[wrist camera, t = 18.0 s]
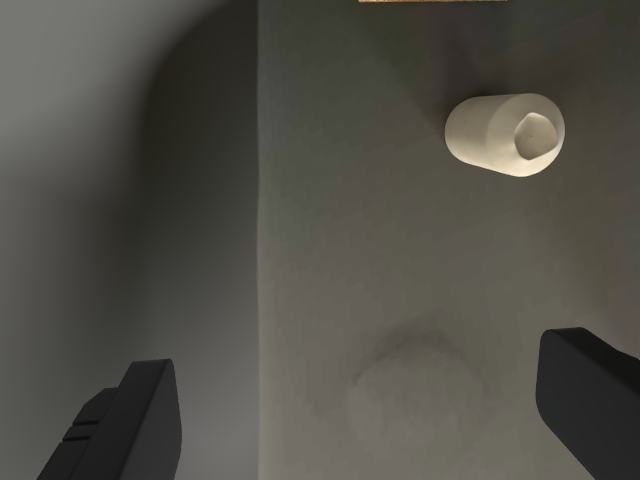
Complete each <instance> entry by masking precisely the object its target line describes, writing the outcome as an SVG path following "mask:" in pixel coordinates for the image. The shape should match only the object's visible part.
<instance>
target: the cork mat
mask: <svg viewBox="0 0 640 480" xmlns="http://www.w3.org/2000/svg"><path fill="white" fill-rule="evenodd" d="M424 1H507V0H358V2H424Z"/></svg>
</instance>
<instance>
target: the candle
mask: <svg viewBox="0 0 640 480" xmlns="http://www.w3.org/2000/svg"><path fill="white" fill-rule="evenodd" d="M564 133H565V127H564V120H563V117H562V114H561V112H560V110H559V109H558V107H557V106H556V105H555V104H554V102H552V101H551V100H550V99H548V98H547V97H545V96H542V95H539V94H533V93H527V94H511V95H495V96H480V97H473V98H470V99H467V100H465V101H463V102H461V103H460V104H459V105H457V106H456V107H455V108H454V109H453V111H452V112H451V113H450V115H449V117H448V119H447V122H446V125H445V140H446V144H447V146H448V148H449V150H450V151H451V153H452V154H453V155H454V156H455V157H457V158H458V159H459V160H461V161H464V162H466V163H469V164H473V165H476V166H480V167H484V168H487V169H491V170H494V171H498V172H502V173H505V174H509V175H513V176H529V175H532V174H535V173H537V172H540V171H541V170H543V169H544V168H546V167H547V166H548V165H549V164H550V163H551V162H552V161H553V160H554V159H555V157H556V156H557V154H558V153H559V151H560V149H561V147H562V143H563V140H564Z"/></svg>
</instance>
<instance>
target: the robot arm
mask: <svg viewBox="0 0 640 480" xmlns="http://www.w3.org/2000/svg"><path fill="white" fill-rule="evenodd" d="M536 403H537V407H538V411H539V413H540V416H541V418H542V419H543V421H544V422H545V424H546V425H547V426H548V427H549V428H550V429H551V430H552V432H553V433H554V434H555V435H556V436H557V437H558V438H559V439H560V441H561V442H562V443H563V444H564V445H565V446H566V447H567V448H568V449H569V451H570V452H571V453H572V454H573V455H574V456H575V457H576V458H577V460H578V461H579V462H580V463H581V464H582V465H583V466H584V467H585V469H586V470H587V471H588V472H589V473H590V474H591V475H592V476H593V477H594V479H595V480H640V360H639V359H637V358H635V357H632V356H630V355H628V354H625V353H623V352H620V351H618V350H616V349H615V348H613V347H612V346H610V345H609V344H607V343H606V342H604V341H603V340H601V339H600V338H598V337H597V336H595V335H594V334H592V333H591V332H590V331H588V330H587V329H585V328H582V327H576V328H563V329H550V330H546V331H545V332H544V333H543V334H542V337H541V341H540V350H539V361H538V372H537V383H536ZM181 443H182V429H181V419H180V411H179V403H178V395H177V386H176V378H175V371H174V365H173V362H172V360H171V359H161V360H148V361H135V362H132V363H131V365H130V367H129V368H128V370H127V372H126V374H125V376H124V377H123V379H122V381H121V383H120V385H119V387H117V388H105V389H104V390H102V391H101V392H100V393H98V394H97V395H96V396H95V397H93V398H92V399H91V400H90V401H88V402H87V403H86V404H85V405H84V406H83V408H82V409H81V411H80V412H79V414H78V415H77V417H76V418H75V420H74V422H73V426H72V427H70V428H69V429H68V431H67V433H66V434H65V436H64V437H63V442H62V443H59V445H58V447H57V448H56V450H55V451H54V453H53V455H52V456H51V458H50V459H49V461H48V462H47V464H46V465H45V467H44V469H43V470H42V472H41V473H40V475H39V476H38V478H37V480H174V477H175V473H176V470H177V466H178V462H179V458H180V453H181Z"/></svg>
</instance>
